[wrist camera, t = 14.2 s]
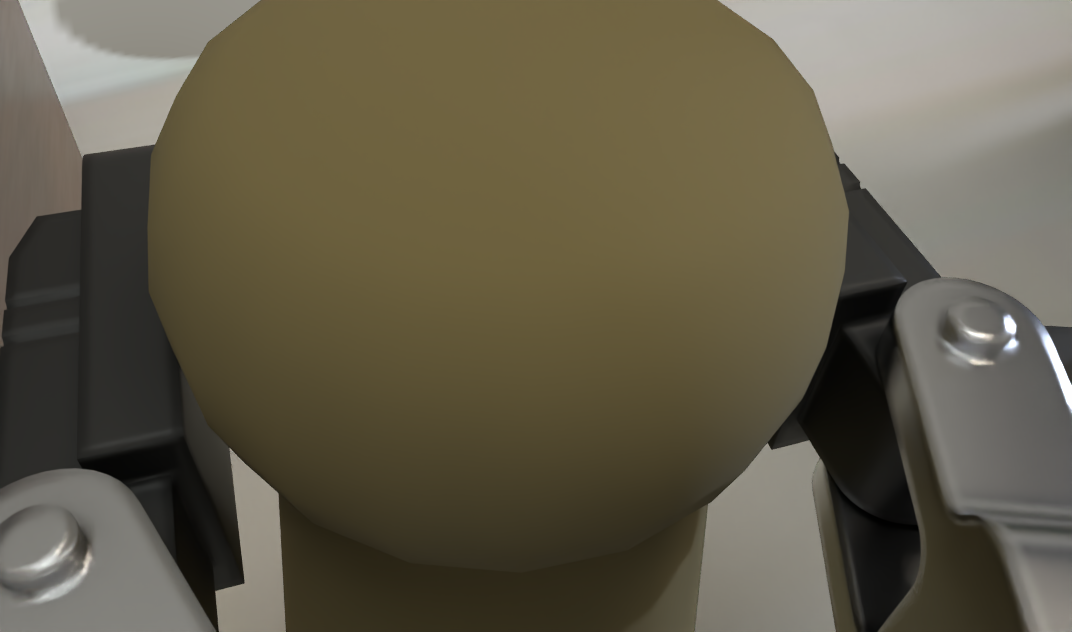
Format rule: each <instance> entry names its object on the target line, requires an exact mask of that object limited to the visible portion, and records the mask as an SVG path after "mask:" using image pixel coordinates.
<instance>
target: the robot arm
mask: <svg viewBox="0 0 1072 632" xmlns="http://www.w3.org/2000/svg"><path fill="white" fill-rule="evenodd" d="M154 147H155V145H150V146H142V147H135V148H128V149H121V150H114V151H107V152H100V153H93V154H86V155H84V156H83V160H82V192H81V210H75V211H68V212H62V213H55V214H49V215H42V216H36V218H35V219H34V221H33V222H32V224H31V225H30V227H29V228H28V230H27V231H26V233H25V234H24V236H23V237H22V239H21V240H20V242H19V243H18V245H17V246H16V248H15V249H14V251H13V252H12V254H11V255H10V257H9V261H8V272H7V283H6V294H5V303H6V306H7V310H4V316H3V326H2V340H3V345H4V346H2V347H1V348H0V632H219V630H218V618H217V607H216V596H215V591H216V590H220V589H224V588H228V587H232V586H236V585H240V584H244V574H243V565H242V556H241V548H240V539H239V530H238V521H237V512H236V504H235V495H234V486H233V477H232V468H231V459H230V451H229V446H228V445H227V444H226V443H225V442H224V441H223V440H222V439H221V438H220V437H219V436H218V435H217V434H216V433H215V432H214V431H213V430H212V429H211V428H210V427H209V426H208V424H207V422H206V420H205V418H204V416H203V414H202V412H201V409H200V407H199V405H198V403H197V401H196V399H195V397H194V394H193V392H192V390H191V388H190V386H189V384H188V382H187V379H186V377H185V375H184V373H183V371H182V369H181V367H180V364H179V362H178V360H177V358H176V356H175V354H174V352H173V349H172V347H171V345H170V342H169V340H168V338H167V335H166V333H165V330H164V328H163V325H162V323H161V321H160V318H159V316H158V313H157V311H156V308H155V306H154V303H153V301H152V299H151V296H150V294H149V284H148V230H147V227H148V207H149V187H150V167H151V154H152V151H153V149H154ZM834 154H835V158H836V162H837V166H838V170H839V173H840V177H841V181H842V185H843V189H844V193H845V197H846V201H847V205H848V209H849V219H848V233H847V247H846V261H845V272H844V276H843V280H842V284H841V289H840V293H839V297H838V301H837V305H836V309H835V313H834V318H833V322H832V326H831V330H830V334H829V338H828V342H827V347H826V349H825V351H824V354H823V356H822V358H821V360H820V362H819V364H818V366H817V369H816V371H815V373H814V375H813V377H812V379H811V381H810V384H809V386H808V388H807V390H806V392H805V394H804V396H803V399H802V400H801V402H800V403H799V404H798V405H797V406H796V408H795V409H794V410H793V411H792V413H791V414H790V415H789V416H788V418H787V419H786V420H785V421H784V423H783V424H782V425H781V426H780V427H779V429H778V430H777V431H776V432H775V434H774V435H773V436H772V437H771V439H770V440H769V441H768V444H769V446H770V448H771V449H772V450H773V449H777V448H781V447H784V446H788V445H792V444H796V443H800V442H804V441H808V440H810V442H811V444H812V445H813V447H814V448H815V450H816V452H817V453H818V455H819V457H820V459H819V461H818V463H817V465H816V467H815V470H814V472H813V478H812V488H813V496H814V502H815V508H816V514H817V520H818V526H819V532H820V538H821V544H822V550H823V556H824V563H825V569H826V575H827V581H828V587H829V593H830V599H831V605H832V611H833V617H834V623H835V629H836V632H1072V327H1057V326H1043V324H1042V323H1041V322H1040V320H1039V319H1038V318H1037V317H1036V316H1035V315H1034V314H1033V313H1032V312H1031V311H1030V310H1029V309H1028V308H1027V307H1025V306H1024V305H1023V304H1021V303H1020V302H1019V301H1017V300H1016V299H1014V298H1013V297H1011V296H1009V295H1008V294H1006V293H1004V292H1002V291H1000V290H998V289H996V288H993V287H991V286H988V285H985V284H982V283H979V282H975V281H971V280H967V279H959V278H942V277H941V276H940V275H939V274H938V273H937V272H936V271H935V269H934V268H933V267H932V266H931V265H930V263H929V262H928V261H927V260H926V259H925V258H924V256H923V255H922V254H921V253H920V252H919V251H918V249H917V248H916V247H915V246H914V245H913V244H912V242H911V241H910V240H909V239H908V238H907V236H906V235H905V234H904V233H903V232H902V231H901V229H900V228H899V227H898V226H897V225H896V224H895V222H894V221H893V220H892V219H891V218H890V217H889V215H888V214H887V213H886V212H885V211H884V210H883V208H882V207H881V206H880V205H879V204H878V202H877V201H876V200H875V199H874V198H873V197H872V195H871V194H870V193H869V192H868V191H867V190H866V188H865V189H861V188H860V181H859V180H858V179H857V178H856V177H855V175H854V174H853V173H852V172H851V171H850V170H849V168H848V167H847V166H846V165H845V164H840V163H839V157H838V156H837V154H836V153H835V152H834Z"/></svg>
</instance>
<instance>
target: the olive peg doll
mask: <svg viewBox="0 0 1072 632" xmlns="http://www.w3.org/2000/svg"><path fill="white" fill-rule="evenodd" d="M848 219H849V209H848V205H847V201H846V197H845V193H844V189H843V185H842V181H841V177H840V173H839V170H838V166H837V162H836V158H835V154H834V150H833V146H832V142H831V140H830V137H829V134H828V131H827V128H826V125H825V122H824V120H823V117H822V114H821V111H820V108H819V105H818V103H817V100H816V97H815V94H814V91H813V89H812V88H811V87H810V86H809V84H808V83H807V82H806V81H805V79H804V78H803V77H802V75H801V74H800V73H799V72H798V70H797V69H796V68H795V67H794V65H793V64H792V63H791V61H790V60H789V59H788V58H787V56H786V55H785V54H784V52H783V51H782V50H781V49H780V47H779V46H778V45H777V44H776V42H775V41H774V40H773V39H772V38H770V37H769V36H768V35H766V34H765V33H763V32H762V31H760V30H759V29H758V28H756V27H755V26H753V25H752V24H750V23H749V22H748V21H746V20H745V19H743V18H742V17H740V16H739V15H738V14H736V13H735V12H733V11H732V10H730V9H729V8H728V7H726V6H725V5H723V4H722V3H720V2H719V1H718V0H261V1H259V2H258V3H257V4H255V5H254V6H253V7H252V8H251V9H249V10H248V11H247V12H245V13H244V14H243V15H242V16H241V17H239V18H238V19H237V20H235V21H234V22H233V23H232V24H230V25H229V26H228V27H227V28H225V29H224V30H223V31H221V32H220V33H219V34H218V35H217V36H215V37H214V38H213V39H211V40H210V41H209V42H208V43H207V45H206V47H205V48H204V50H203V52H202V53H201V55H200V57H199V58H198V60H197V62H196V64H195V65H194V67H193V69H192V70H191V72H190V74H189V75H188V77H187V79H186V80H185V82H184V84H183V86H182V87H181V89H180V91H179V92H178V94H177V96H176V98H175V100H174V102H173V105H172V107H171V109H170V112H169V114H168V116H167V119H166V121H165V123H164V126H163V128H162V130H161V133H160V135H159V137H158V140H157V142H156V144H155V147H154V149H153V151H152V154H151V167H150V187H149V207H148V227H147V230H148V284H149V294H150V296H151V299H152V301H153V303H154V306H155V308H156V311H157V313H158V316H159V318H160V321H161V323H162V325H163V328H164V330H165V333H166V335H167V338H168V340H169V342H170V345H171V347H172V349H173V352H174V354H175V356H176V358H177V360H178V362H179V364H180V367H181V369H182V371H183V373H184V375H185V377H186V379H187V382H188V384H189V386H190V388H191V390H192V392H193V394H194V397H195V399H196V401H197V403H198V405H199V407H200V409H201V412H202V414H203V416H204V418H205V420H206V422H207V424H208V426H209V427H210V428H211V429H212V430H213V431H214V432H215V433H216V434H217V435H218V436H219V437H220V438H221V439H222V440H223V441H224V442H225V443H226V444H227V445H228V446H229V447H230V448H231V449H232V450H233V452H234V453H235V454H236V455H237V456H238V457H239V458H240V459H241V460H242V461H243V462H244V463H245V464H247V465H248V466H249V467H250V468H251V469H252V470H253V471H254V472H256V473H257V474H258V475H259V476H260V477H261V478H262V479H263V480H265V481H266V482H267V483H268V484H269V485H270V486H271V487H273V488H274V489H275V490H276V491H277V492H278V493H279V510H280V529H281V548H282V566H283V585H284V603H285V622H286V632H694V630H695V620H696V611H697V602H698V593H699V583H700V574H701V565H702V555H703V546H704V537H705V527H706V518H707V509H708V504H709V503H710V502H712V501H713V500H714V499H715V498H716V497H717V496H718V495H719V494H720V493H721V492H722V491H723V490H724V489H726V488H727V487H728V486H729V485H730V484H731V483H732V482H733V481H734V480H735V479H736V478H737V477H738V476H739V475H740V474H742V473H743V472H744V471H745V469H746V468H747V467H748V466H749V465H750V463H751V462H752V461H753V460H754V458H755V457H756V456H757V455H758V453H759V452H760V451H761V450H762V448H763V447H764V446H765V445H766V444H767V442H768V441H769V440H770V439H771V437H772V436H773V435H774V434H775V432H776V431H777V430H778V429H779V427H780V426H781V425H782V424H783V423H784V421H785V420H786V419H787V418H788V416H789V415H790V414H791V413H792V411H793V410H794V409H795V408H796V406H797V405H798V404H799V403H800V402H801V400H802V399H803V396H804V394H805V392H806V390H807V388H808V386H809V384H810V381H811V379H812V377H813V375H814V373H815V371H816V369H817V366H818V364H819V362H820V360H821V358H822V356H823V354H824V351H825V349H826V347H827V342H828V338H829V334H830V330H831V326H832V322H833V318H834V313H835V309H836V305H837V301H838V297H839V293H840V289H841V284H842V280H843V276H844V272H845V261H846V247H847V233H848Z"/></svg>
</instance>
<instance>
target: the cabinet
mask: <svg viewBox="0 0 1072 632" xmlns="http://www.w3.org/2000/svg"><path fill="white" fill-rule="evenodd" d="M82 160H83V159H82V156H81V154H80V151H79V149H78V146H77V144H76V141H75V139H74V137H73V134H72V132H71V129H70V127H69V124H68V122H67V119H66V117H65V114H64V112H63V109H62V107H61V105H60V102H59V100H58V97H57V95H56V92H55V90H54V87H53V85H52V82H51V80H50V78H49V75H48V73H47V70H46V68H45V65H44V63H43V60H42V58H41V55H40V53H39V51H38V48H37V46H36V43H35V41H34V38H33V36H32V33H31V31H30V28H29V26H28V23H27V21H26V19H25V16H24V14H23V11H22V9H21V6H20V4H19V1H18V0H0V348H1V347H2V346H4V345H3V340H2V326H3V316H4V310H7V306H6V303H5V294H6V283H7V272H8V261H9V257H10V255H11V254H12V252H13V251H14V249H15V248H16V246H17V245H18V243H19V242H20V240H21V239H22V237H23V236H24V234H25V233H26V231H27V230H28V228H29V227H30V225H31V224H32V222H33V221H34V219H35V218H36V216H42V215H49V214H55V213H62V212H68V211H75V210H81V192H82Z"/></svg>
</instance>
